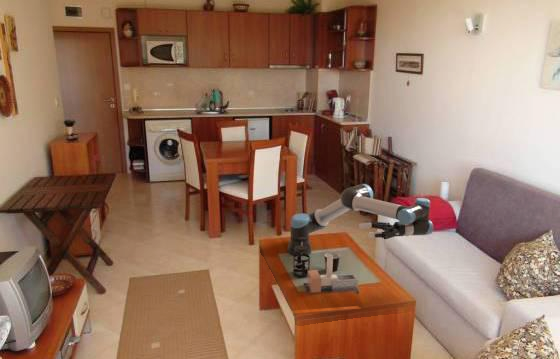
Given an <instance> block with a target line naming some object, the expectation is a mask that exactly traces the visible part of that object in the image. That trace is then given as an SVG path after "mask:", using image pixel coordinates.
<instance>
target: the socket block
mask: <svg viewBox="0 0 560 359" xmlns="http://www.w3.org/2000/svg"><path fill="white" fill-rule="evenodd" d="M306 274H307V277H306V278H307V280H306V281H307V282H306V283H307V284H308V287H309V289H310V291H311V293H317V292H321V277H320V273H319V271H318V269H311V270H310V269H309V270H308V273H306Z"/></svg>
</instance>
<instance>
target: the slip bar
mask: <svg viewBox="0 0 560 359" xmlns="http://www.w3.org/2000/svg"><path fill="white" fill-rule="evenodd" d="M332 268H333V255H332V254H328V255H327V270H326V274H325V275H324V274H321V275H320V274H319V275H320V277H321V286H330V285H332V280H338V278H337V276H336V275H337V274H333V272H332Z"/></svg>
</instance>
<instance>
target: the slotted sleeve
mask: <svg viewBox="0 0 560 359" xmlns="http://www.w3.org/2000/svg"><path fill="white" fill-rule="evenodd" d="M335 275H336V276H337V278H338V280H332V285H330V286H321V292H317V293H311V291H310V289H309V287H308V284H307V282H303V283H302V284H303V286H304V288H305V291H306V293H307V295H316V294H330V293H331V294H332V293H344V292H347V293H348V292H355V294H356V293H357V294H359V293H360V290H359V288H358V287H359V279H358V277H357V276H356V275H355V274H354V273H348V274H335Z"/></svg>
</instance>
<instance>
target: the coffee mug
mask: <svg viewBox="0 0 560 359" xmlns="http://www.w3.org/2000/svg"><path fill="white" fill-rule="evenodd" d="M328 254H332V255H333V268H332V273H335V272H337V271H339V270H338V268H339V263H340V258H341V255H340V254H339V253H337V252H326V253H324V263H325V264H324V266H325V271H327V255H328Z"/></svg>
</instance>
